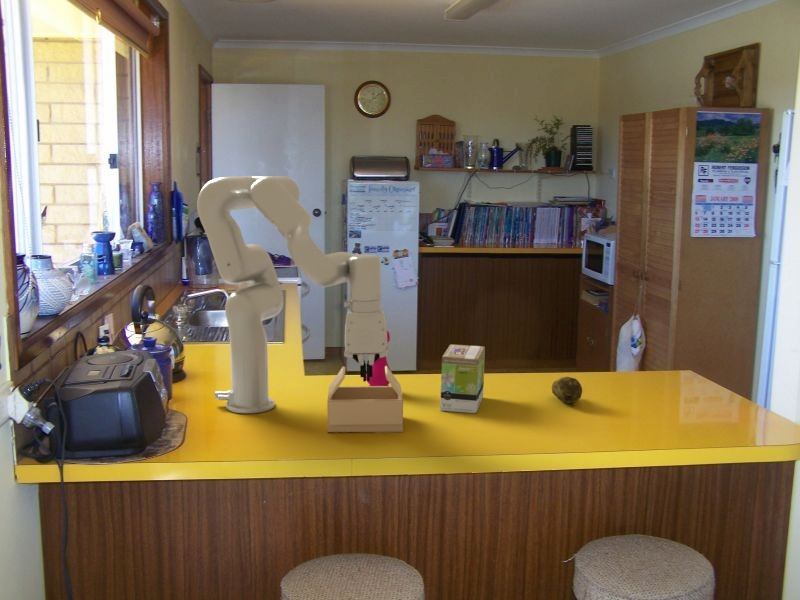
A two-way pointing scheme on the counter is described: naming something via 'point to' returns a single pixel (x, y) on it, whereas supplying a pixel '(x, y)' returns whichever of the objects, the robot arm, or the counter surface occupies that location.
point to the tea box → (462, 378)
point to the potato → (567, 389)
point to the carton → (365, 409)
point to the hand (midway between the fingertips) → (366, 379)
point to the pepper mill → (380, 370)
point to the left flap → (336, 382)
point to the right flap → (393, 381)
